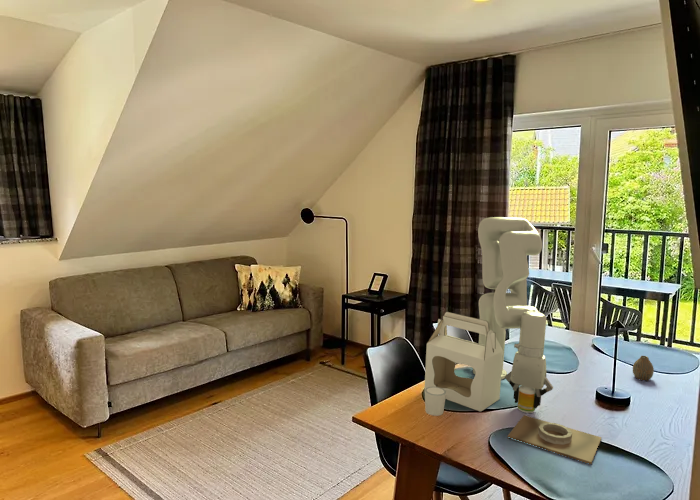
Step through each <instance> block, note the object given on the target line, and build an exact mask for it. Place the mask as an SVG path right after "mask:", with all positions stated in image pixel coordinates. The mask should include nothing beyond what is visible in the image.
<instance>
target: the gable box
mask: <svg viewBox="0 0 700 500" xmlns="http://www.w3.org/2000/svg"><path fill="white" fill-rule="evenodd" d="M447 326H448V327H453V328H457V329H461V330H464V331H465V330H466V331H469V332H472V333H477V334H479V333H480V334H483V335H485V336H486V345H482V344H479V342H478V343H477V342H475V341H472V340H471V341H470V340H466V339H463V338H459V337H457V336H452V335H448V329H447V328H448V327H447ZM425 353H426V354H425V372H424V373H425V375H424V391H425V389H426V388H427V387H440V388H442V389H444V390H445V391H446V398H445V400H447V401H450V402H453V403H456V404H458V405H461V406H464V407H467V408H469V409H473V410H475V411H478V412H482V411H484V410H486V409H487V408H489V407H490V406H491V405H493V404H494V403H496V402H498V401H499V400H500V398H501V396H500V395H501V382H502V379H501V372H502V359H503V349H502V348H501V346H500V344H499V342H498V340H497V338H496V335H495V332H493V331H492V330H489V323H488V321H485V320H481V319H480V318H476V317H472V316H468V315H463V314H459V313H455V312H454V313H453V312H449V311H446V312H445V313H444V315H442V318H438V320H437V326H436V327H435V329H434V331H433V332H432V334H431V336H430V338H429V339H428V341H427V342H426V351H425ZM456 364H459V365H464V366H469V367H471V368H472V370H473V369H474V370H475V372H476V374H474V377H473V378H471V377H463V376H462V377H461V376H458V375H457V374H456V373H455V369H456Z"/></svg>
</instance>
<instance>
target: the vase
mask: <svg viewBox="0 0 700 500" xmlns="http://www.w3.org/2000/svg"><path fill="white" fill-rule="evenodd" d="M654 368H655V367H654V365H653V363H652V362H651V360H650V359H649V357H648V356H646V355H641V356H640V357H639V358H638V359H637V360H635V361H634V363H633V366H632V374H633V376H634V377H635V379H637V380H639V379H640V381H643V380H647V381H649V380H651V379H652V378H653V376H654V372H655V369H654Z"/></svg>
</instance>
